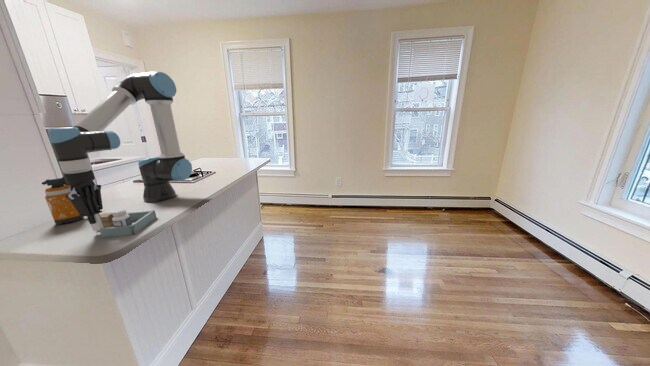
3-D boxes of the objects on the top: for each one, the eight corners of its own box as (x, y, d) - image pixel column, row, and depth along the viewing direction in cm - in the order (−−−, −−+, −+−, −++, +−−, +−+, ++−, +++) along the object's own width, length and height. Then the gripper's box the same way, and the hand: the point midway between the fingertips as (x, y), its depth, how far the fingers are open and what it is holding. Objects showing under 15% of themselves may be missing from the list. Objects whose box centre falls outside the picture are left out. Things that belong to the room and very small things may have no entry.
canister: (56, 221, 104) (39, 178, 99) (90, 213, 112) (76, 173, 106) (54, 227, 98) (36, 182, 93) (90, 218, 106) (76, 176, 100)
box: (129, 220, 102) (127, 212, 101) (156, 217, 104) (154, 210, 103) (102, 237, 87) (99, 229, 86) (134, 234, 89) (132, 226, 88)
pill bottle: (131, 227, 95) (125, 207, 93) (135, 230, 92) (129, 209, 90) (114, 232, 91) (108, 211, 88) (118, 236, 88) (112, 214, 85)
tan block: (105, 223, 100) (102, 213, 98) (118, 222, 100) (115, 212, 99) (96, 229, 95) (92, 218, 94) (110, 227, 96) (106, 216, 94)
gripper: (80, 168, 89) (100, 223, 96) (48, 176, 77) (73, 239, 83) (102, 166, 90) (120, 221, 97) (74, 174, 78) (96, 236, 84)
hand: (98, 229), depth 90 cm, fingers closed
